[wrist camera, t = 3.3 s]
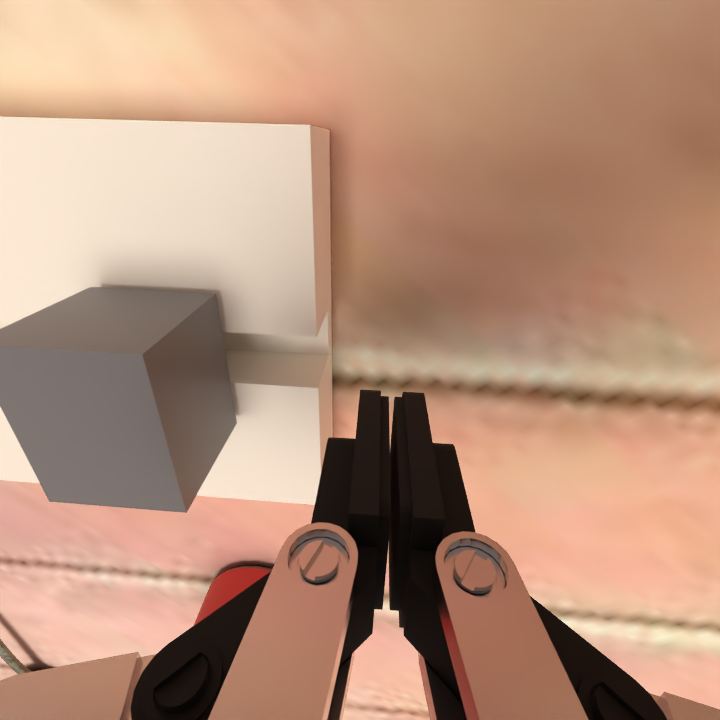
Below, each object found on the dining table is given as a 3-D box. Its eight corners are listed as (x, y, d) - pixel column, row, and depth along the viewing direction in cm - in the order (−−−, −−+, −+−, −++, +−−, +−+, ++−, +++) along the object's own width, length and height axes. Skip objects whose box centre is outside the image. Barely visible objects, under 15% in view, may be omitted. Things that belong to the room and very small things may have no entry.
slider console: (329, 130, 13) (309, 124, 10) (332, 449, 20) (321, 507, 17) (-370, 110, 14) (-584, 100, 11) (-142, 415, 21) (-236, 463, 18)
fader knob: (243, 270, 14) (142, 354, 8) (257, 386, 16) (186, 512, 11) (136, 265, 14) (-33, 343, 9) (166, 380, 17) (49, 501, 11)
